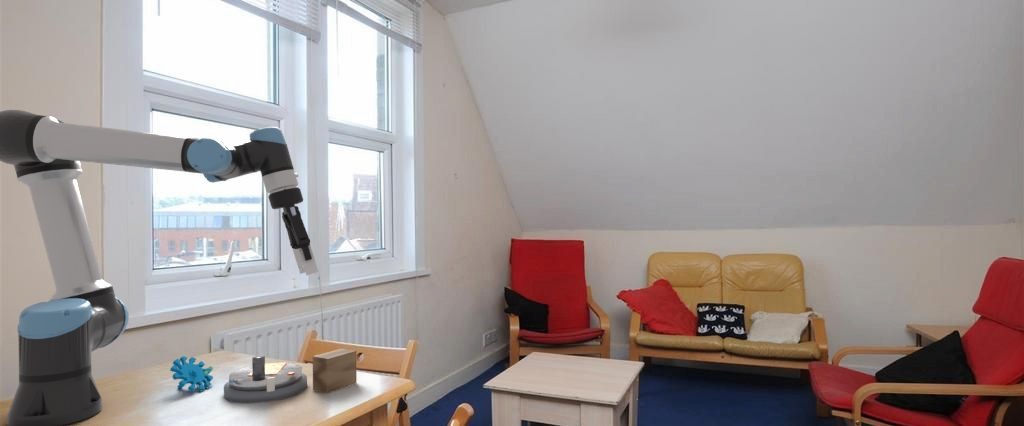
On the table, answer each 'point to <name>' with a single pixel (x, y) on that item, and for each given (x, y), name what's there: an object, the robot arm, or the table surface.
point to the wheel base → (265, 391)
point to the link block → (334, 370)
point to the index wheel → (264, 375)
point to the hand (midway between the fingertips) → (308, 273)
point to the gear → (191, 373)
